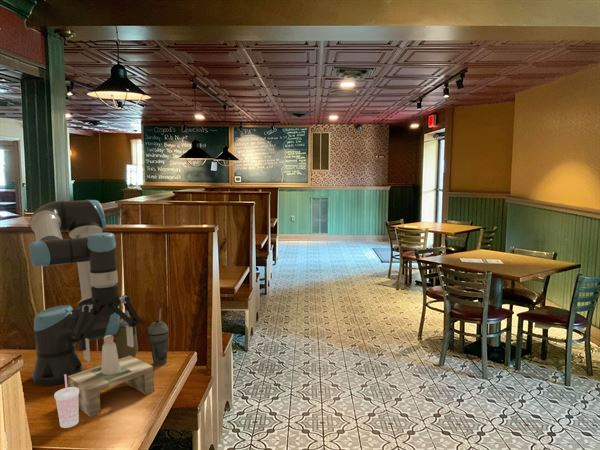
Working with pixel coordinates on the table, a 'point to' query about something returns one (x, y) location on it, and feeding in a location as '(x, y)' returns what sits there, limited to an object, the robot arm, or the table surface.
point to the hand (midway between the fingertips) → (109, 352)
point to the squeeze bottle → (125, 341)
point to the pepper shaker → (109, 357)
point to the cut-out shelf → (110, 382)
